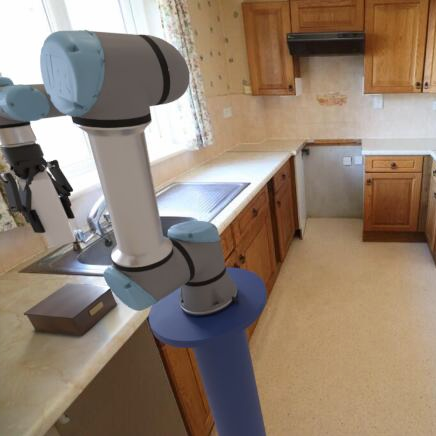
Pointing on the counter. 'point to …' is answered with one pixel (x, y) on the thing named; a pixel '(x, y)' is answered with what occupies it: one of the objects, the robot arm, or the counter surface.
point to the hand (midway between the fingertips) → (55, 224)
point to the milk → (49, 210)
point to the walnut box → (72, 309)
